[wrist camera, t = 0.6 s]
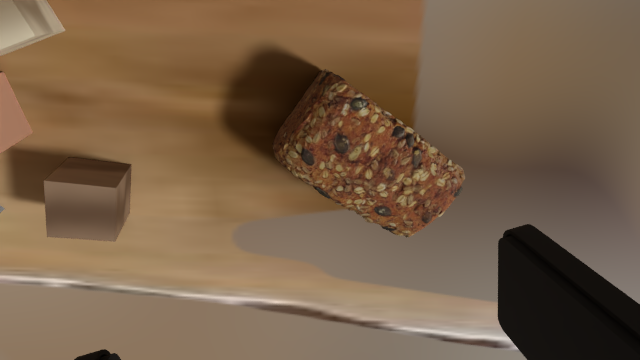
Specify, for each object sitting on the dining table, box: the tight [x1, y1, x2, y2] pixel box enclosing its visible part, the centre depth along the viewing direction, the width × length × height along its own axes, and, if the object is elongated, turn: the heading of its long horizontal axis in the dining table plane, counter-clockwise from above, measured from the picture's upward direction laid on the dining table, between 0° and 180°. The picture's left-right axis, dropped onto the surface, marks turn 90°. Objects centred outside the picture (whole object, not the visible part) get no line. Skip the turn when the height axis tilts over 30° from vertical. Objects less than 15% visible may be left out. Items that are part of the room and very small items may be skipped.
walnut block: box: [44, 157, 131, 242], centre depth 40 cm, size 6×6×6 cm
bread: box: [273, 69, 465, 237], centre depth 42 cm, size 19×11×10 cm, turn 53°
